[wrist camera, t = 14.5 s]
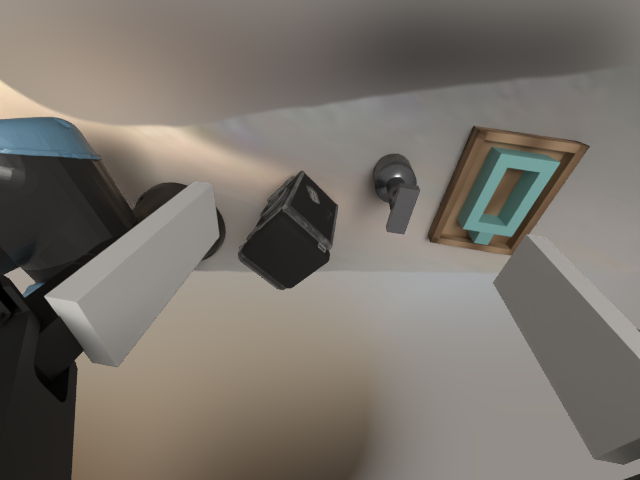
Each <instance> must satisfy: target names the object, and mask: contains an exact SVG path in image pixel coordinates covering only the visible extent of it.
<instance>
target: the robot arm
mask: <svg viewBox="0 0 640 480" xmlns="http://www.w3.org/2000/svg"><path fill="white" fill-rule="evenodd" d="M101 160H102V159H101V157H100V156H99V155H97V154H96V153H95V151H94V150H93V149H92V147H91V146H90V144H89V143H88V142H87V140H86V139H85V137H84V136H83V135H82V133H81V132H80V130H79V129H78V128H77V127H76V126H75V125H73V124H72V123H70V122H68V121H66V120H63V119H60V118H56V117H32V118H15V119H0V480H71V474H72V456H73V437H74V421H75V402H76V385H77V366H76V362H75V361H74V360H75V359H76V358H77V357H78V356H79V355H80V354H81V353H82V352H83V351H84V352H85V354H86V355H87V356H88V358H89V359H90V360H91V362H93V363H98V364H103V365H108V366H114V367H118V366H119V365H120V364H121V363H122V361H123V360H124V359H125V357H126V356H127V355H128V354H129V352H130V351H131V350H132V348H133V347H134V346H135V344H136V343H137V342H138V341H139V339H140V338H141V337H142V335H143V334H144V333H145V332H146V330H147V329H148V328H149V326H150V325H151V324H152V323H153V321H154V320H155V319H156V317H157V316H158V315H159V313H160V312H161V311H162V310H163V308H164V307H165V306H166V305H167V303H168V302H169V301H170V299H171V298H172V297H173V296H174V294H175V293H176V292H177V290H178V289H179V288H180V287H181V285H182V284H183V283H184V281H185V280H186V279H187V278H188V276H189V275H190V273H191V272H192V271H193V270H194V269H195V267H196V266H197V265H198V263H199V262H200V261H202V260H205V259H207V258H209V257H210V256H212V255H213V254H214V253H215V252H216V251H217V250H218V248H219V247H220V246H221V244H222V243H223V241H224V238H225V225H224V221H223V218H222V216H221V214H220V213H219V211H218V209H217V208H216V206H215V198H214V191H213V184H212V183H206V182H200V181H194V182H193V183H191V184H190V185H189V186H186V185H183V184H178V183H161V184H158V185H156V186H154V187H152V188H151V189H149V190H148V191H146V192H145V193H144V194H143V195H142V196H141V197H140V198H139V200H138V202H137V204H136V207H135V208H134V209H133V210H131V208H130V207H129V205H128V204H127V202H126V201H125V199H124V197H123V196H122V194H121V193H120V191H119V189H118V188H117V186H116V185H115V183H114V182H113V180H112V178H111V177H110V175H109V173H108V172H107V170H106V168H105V167H104V165H103V163H102V162H101ZM18 267H21V268H22V269H23V270H24V271H25V272H26V273H27V274H28V275H30V277H31V278H32V279H33V280H34V281H35V282H36V283H35V284H33V285H30V286H29V287H28V288H27V290H26V291H25V293H24V294H23V295H22V294H21V293H20V291H19V290H18V289H17V288H16V286H15V285H14V284H13V283H12V281H11V280H10V279H9V278H7V277H6V276H4V274H6V273H8V272H10V271H12V270H14V269H16V268H18ZM493 284H494V285H495V287H496V289H497V290H498V292H499V294H500V296H501V298H502V299H503V301H504V303H505V305H506V306H507V308H508V309H509V311H510V313H511V315H512V317H513V318H514V320H515V322H516V324H517V326H518V327H519V329H520V331H521V332H522V334H523V336H524V338H525V339H526V341H527V343H528V345H529V346H530V348H531V350H532V352H533V353H534V355H535V357H536V359H537V360H538V362H539V364H540V366H541V367H542V369H543V371H544V373H545V374H546V376H547V378H548V380H549V381H550V383H551V385H552V387H553V388H554V390H555V392H556V394H557V395H558V397H559V399H560V401H561V402H562V404H563V406H564V408H565V409H566V411H567V413H568V415H569V416H570V418H571V420H572V422H573V423H574V425H575V427H576V429H577V430H578V432H579V434H580V436H581V437H582V439H583V441H584V442H585V444H586V446H587V448H588V450H589V451H590V453H591V455H592V457H593V458H594V459H597V460H602V461H607V462H612V463H618V464H623V465H624V464H627V463H629V462H632V461H634V460H637V459H639V458H640V330H638V329H637V328H635V327H634V326H633V325H632V324H631V323H630V322H629V321H628V320H627V319H626V317H625V316H623V314H621V312H619V310H617V308H615V306H613V304H611V302H609V300H608V299H606V297H604V296H603V294H602V293H601V292H600V291H599V290H598V289H597V288H596V287H594V285H593V284H592V283H591V282H589V280H587V278H586V277H585V276H584V275H583V274H582V273H581V272H580V271H579V270H578V269H577V268H576V267H575V266H574V265H573V264H572V263H571V262H570V261H569V260H568V259H567V258H566V257H565V256H564V255H563V254H562V253H561V252H560V251H559V250H558V249H557V248H556V247H555V246H554V245H553V244H552V243H551V242H550V241H549V240H548V239H547V238H546V237H540V236H534V235H528V234H526V235H525V237H524V238H523V240H522V241H521V243H520V244H519V246H518V247H517V249H516V250H515V251H514V253H513V254H512V256H511V257H510V259H509V260H508V262H507V263H506V264H505V266H504V267H503V269H502V270H501V272H500V273H499V275H498V276H497V278H496V279H495V280H494V282H493ZM625 480H640V474H638V475H635V476H633V477H630V478H627V479H625Z"/></svg>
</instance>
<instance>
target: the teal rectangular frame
mask: <svg viewBox="0 0 640 480" xmlns="http://www.w3.org/2000/svg"><path fill="white" fill-rule="evenodd" d="M559 164H560V162H559V161H557V160H555V159H553V158H551V157H550V156H548V155H545V154H538V153H531V152H525V151H518V150H511V149H505V148H498V147H491V149H490V151H489V153H488V155H487V157H486V159H485V161H484V163H483V165H482V168H481V170H480V172H479V174H478V176H477V178H476V180H475V182H474V184H473V186H472V188H471V190H470V192H469V194H468V197H467V199H466V201H465V203H464V205H463V207H462V209H461V211H460V213H459V215H458V217H457V220H458V221H459V223H460V225H461V227H462V228H463V229H466V230H468V233H469V235H470V237H471V239H472V240H473V242H474V243H478V244H484V245H488V244H489V242H490V240H491V239H492V237H493V235H494V234H497V235H503V236H509V237H512V236H513V234H514V233H515V231H516V230H517V228H518V227H519V225H520V224H521V222H522V221H523V219H524V217H525V216H526V214H527V213H528V211H529V210H530V208H531V207H532V205H533V204H534V202H535V201H536V199H537V198H538V196H539V195H540V193H541V192H542V190H543V188H544V187H545V185H546V184H547V182H548V181H549V179H550V178H551V176H552V175H553V173H554V172H555V170H556V169H557V167H558V166H559ZM507 168H514V169H521V170H524V172H523V174H522V175H521V177H520V179H519V181H518V182H517V184H516V186H515V187H514V189H513V191H512V193H511V194H510V196H509V198H508V199H507V201H506V203H505V205H504V206H503V208H502V210H501V211H500V213H499V215H498V216H495V215H489V214H483V212H484V210H485V208H486V206H487V204H488V203H489V201H490V199H491V197H492V195H493V193H494V192H495V190H496V188H497V186H498V184H499V182H500V180H501V179H502V177H503V175H504V173H505V171H506V169H507Z"/></svg>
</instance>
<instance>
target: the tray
mask: <svg viewBox="0 0 640 480" xmlns="http://www.w3.org/2000/svg"><path fill="white" fill-rule="evenodd" d="M491 147H498V148H505V149H511V150H518V151H525V152H531V153H538V154H545V155H548V156H550V157H551V158H553V159H555V160H557V161H559V162H560V164H559V166H558V167H557V169H556V170H555V172H554V173H553V175H552V176H551V178H550V179H549V181H548V182H547V184H546V185H545V187H544V188H543V190H542V192H541V193H540V195H539V196H538V198H537V199H536V201H535V202H534V204H533V205H532V207H531V208H530V210H529V211H528V213H527V214H526V216H525V217H524V219H523V221H522V222H521V224H520V225H519V227H518V228H517V230H516V231H515V233H514V234H513V236H512V237H509V236H503V235H497V234H494V235H493V237H492V239H491V240H490V242H489V244H488V245H484V244H478V243H474V242H473V240H472V239H471V237H470V235H469V233H468V230H466V229H463V228H462V227H461V225H460V223H459V221H458V220H457V217H458V215H459V213H460V211H461V209H462V207H463V205H464V203H465V201H466V199H467V197H468V194H469V192H470V190H471V188H472V186H473V184H474V182H475V180H476V178H477V176H478V174H479V172H480V170H481V168H482V165H483V163H484V161H485V159H486V157H487V155H488V153H489V151H490V149H491ZM589 147H590V146H588V145H586V144H583V143H581V142H578V141H572V140H566V139H559V138H552V137H545V136H538V135H532V134H525V133H518V132H511V131H504V130H498V129H491V128H484V127H477V126H474V127H473V130H472V132H471V134H470V137H469V139H468V141H467V144H466V146H465V148H464V151H463V153H462V155H461V158H460V160H459V162H458V165H457V167H456V169H455V172H454V174H453V177H452V179H451V181H450V184H449V186H448V188H447V191H446V193H445V195H444V198H443V200H442V202H441V205H440V207H439V209H438V212H437V214H436V216H435V219H434V221H433V224H432V226H431V228H430V231H429V233H428V236H429V239H430V242H433V243H439V244H445V245H451V246H457V247H463V248H469V249H475V250H481V251H487V252H493V253H499V254H506V255H512V254H513V253H514V251H515V250H516V249H517V247H518V246H519V244H520V243H521V241H522V240H523V238H524V237H525V235H526V234H528V235H529V233H530V232H531V230H532V229H533V227H534V226H535V225H536V223H537V222H538V220H539V219H540V217H541V216H542V215H543V213H544V212H545V210H546V209H547V207H548V206H549V204H550V203H551V202H552V200H553V199H554V197H555V196H556V194H557V193H558V192H559V190H560V189H561V187H562V186H563V184H564V183H565V181H566V180H567V179H568V177H569V176H570V174H571V173H572V171H573V170H574V169H575V167H576V166H577V164H578V163H579V161H580V160H581V158H582V157H583V156H584V154H585V153H586V151H587V150H588V148H589ZM523 172H524V170H521V169H514V168H507V169H506V171H505V173H504V175H503V177H502V179H501V180H500V182H499V184H498V186H497V188H496V190H495V192H494V193H493V195H492V197H491V199H490V201H489V203H488V204H487V206H486V208H485V210H484V212H483V214H489V215H495V216H498V215H499V213H500V211H501V210H502V208H503V206H504V205H505V203H506V201H507V199H508V198H509V196H510V194H511V193H512V191H513V189H514V187H515V186H516V184H517V182H518V181H519V179H520V177H521V175H522V174H523Z"/></svg>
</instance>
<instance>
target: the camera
mask: <svg viewBox="0 0 640 480" xmlns="http://www.w3.org/2000/svg"><path fill="white" fill-rule="evenodd" d="M294 177H295V176H294V175H293V176H292V177H291V178H290V179H289V180H288V181H286V182H285V183H284V184H283V185H282V186H281V187H280V188H279V189H278V190H277V191H276V192H275V193H274V194H273V195H272V196H271V197H270V198H269V199H268V200H267V201H268V202H269V203H268V205H267V206H266V207H265V208H264V210H263V211H262V213H261V215H260V216H261V219H260V220H259V222H258V224H257V225H256V227H255V229H254V230H253V231H252V232H251V233H250V234H249V236H248V237H247V242H246V243H245V244H244V245H241V246H240V247H239V249H240V251H239V252H238V258H239V260H240V261H241V262H242V263H243V264H245V265H246V266H247V267H249V268H250V269H251V270H253V271H254V272H255V273H257V274H258V275H259V276H261V277H262V278H264V279H265V280H266V281H267V282H269V283H270V284H271V285H273V286H274V287H276V288H277V289H280V290H284V289H286V288H292V287H294V286H295V285H297V284H298V283H299V282H301V281H302V280H304V279H305V278H306V277H308V276H309V275H310V274H312V273H313V272H315V271H316V270H317V269H319V268H320V267H322V266H323V265H324V264H326V263H327V262H328V261H329V257H330V253H329V250H330V249H331V248H332V244H333V237H334V231H335V224H336V218H337V211H338V205H337V204H335V203H334V202H333V201H332V200H331V199H330V198H329V197H328V196H327V195H326V194H325V193H324V192H323V191H322V190H321V189H320V188H319V187H318V186H317V185H316V184H315V183H314V182H313V181H312V180H311V179H310V178H309V177H308V176H307V175H306V174H305V172H304V171H301V172H300V173H299V174H298V175H297V176H296V177H295V178H294ZM293 178H294V179H293ZM292 179H293V180H292ZM291 180H292V181H291ZM290 181H291V182H290ZM289 182H290V183H289ZM288 183H289V184H288Z"/></svg>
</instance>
